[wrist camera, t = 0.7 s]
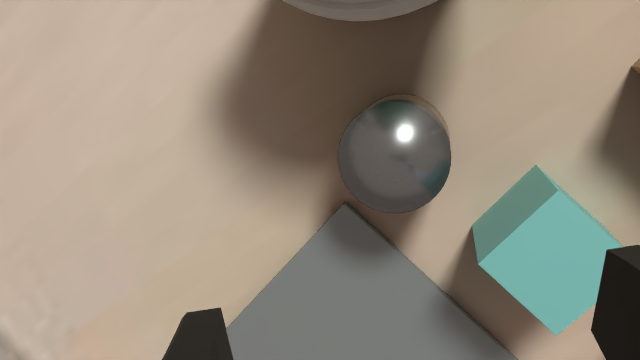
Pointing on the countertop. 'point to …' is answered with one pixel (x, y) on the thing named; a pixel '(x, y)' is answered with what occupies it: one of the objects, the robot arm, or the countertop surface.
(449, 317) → the mat
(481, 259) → the teal block
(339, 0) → the food container
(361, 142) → the metal canister
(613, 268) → the robot arm
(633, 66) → the walnut block
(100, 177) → the countertop surface
